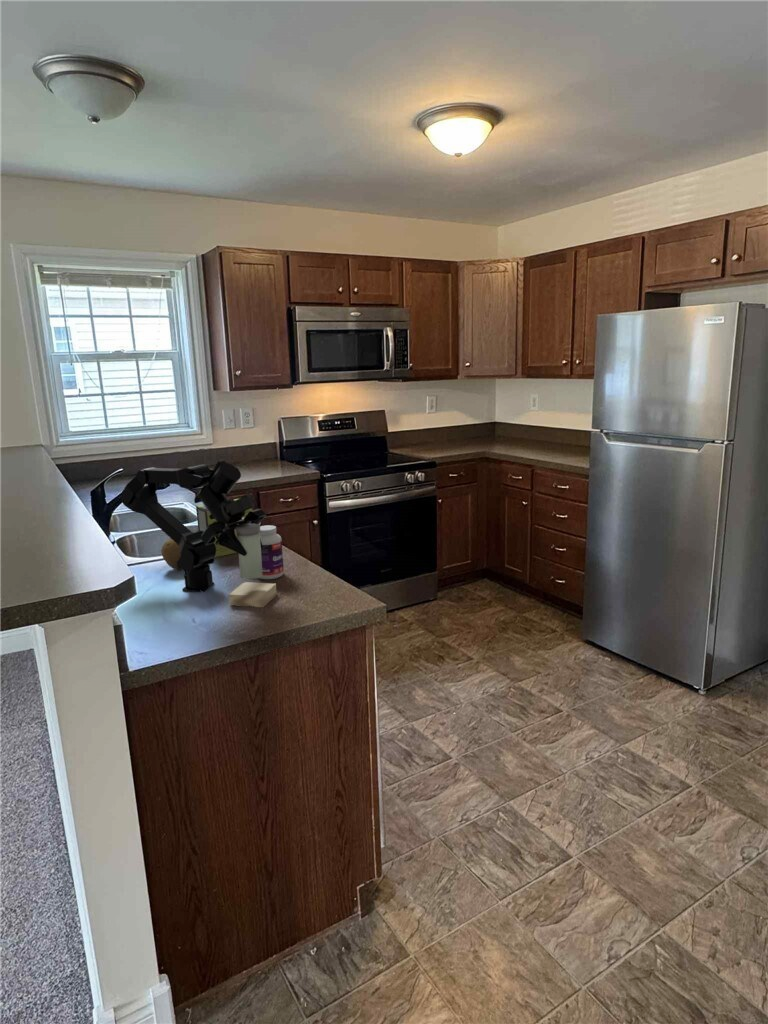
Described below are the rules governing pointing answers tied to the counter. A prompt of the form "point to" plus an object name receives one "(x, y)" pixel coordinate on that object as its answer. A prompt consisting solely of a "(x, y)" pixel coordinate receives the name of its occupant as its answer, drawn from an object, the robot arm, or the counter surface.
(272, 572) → the pill bottle
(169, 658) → the counter surface
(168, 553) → the natural sponge
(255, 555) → the spice jar
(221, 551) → the protein box
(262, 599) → the maple board
